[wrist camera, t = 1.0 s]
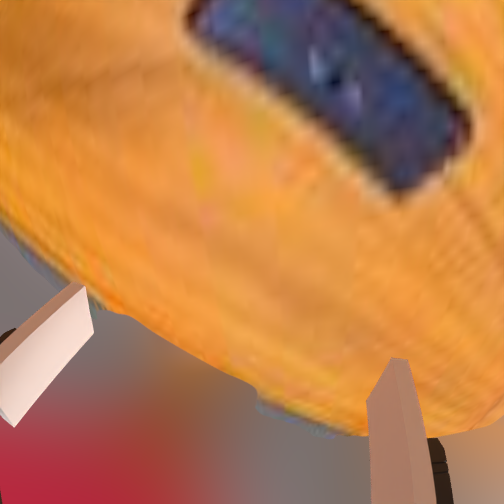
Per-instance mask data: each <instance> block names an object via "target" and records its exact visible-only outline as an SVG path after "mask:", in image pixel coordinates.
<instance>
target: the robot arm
mask: <svg viewBox="0 0 504 504" xmlns="http://www.w3.org/2000/svg"><path fill="white" fill-rule="evenodd" d="M93 334H94V330H93V326H92V321H91V316H90V311H89V305H88V300H87V294H86V288H85V286H84V285H81V284H79V283H76V282H72V283H70V284H69V285H68V286H67V287H66V288H64V289H63V290H62V291H61V292H59V293H58V294H57V295H56V296H55V297H53V298H52V299H51V300H50V301H49V302H48V303H46V304H45V305H44V306H43V307H42V308H41V309H39V310H38V311H37V312H36V313H35V314H33V315H32V316H31V317H30V318H29V319H28V320H27V321H25V322H24V323H23V324H22V325H21V326H20V327H19V328H18V329H16V328H14V329H11V330H9V331H7V332H5V333H4V334H3V335H2V336H1V337H0V415H1V416H2V418H4V419H5V420H6V421H7V422H8V423H10V424H11V425H12V426H13V427H15V426H16V425H17V423H18V422H19V421H20V420H21V418H22V417H23V416H24V415H25V413H26V412H27V411H28V410H29V408H30V407H31V406H32V405H33V403H34V402H35V401H36V400H37V398H38V397H39V396H40V395H41V394H42V392H43V391H44V390H45V389H46V388H47V386H48V385H49V384H50V383H51V382H52V380H53V379H54V378H55V377H56V375H57V374H58V373H59V372H60V371H61V370H62V368H63V367H64V366H65V365H66V364H67V363H68V362H69V361H70V359H71V358H72V357H73V356H74V355H75V354H76V353H77V351H78V350H79V349H80V348H81V347H82V346H83V344H85V342H86V341H87V340H88V339H89V338H90V337H91V336H92V335H93ZM366 403H367V415H368V428H369V443H370V464H371V504H454V503H453V495H452V488H451V482H450V476H449V473H448V466H447V464H446V462H447V460H446V455H445V450H444V448H443V446H442V445H441V443H440V441H439V440H438V438H426V432H425V428H424V423H423V418H422V414H421V409H420V405H419V401H418V397H417V393H416V389H415V385H414V381H413V377H412V373H411V370H410V366H409V362H408V360H406V359H397V358H391V359H390V361H389V363H388V365H387V367H386V368H385V370H384V372H383V374H382V375H381V377H380V379H379V381H378V382H377V384H376V386H375V387H374V389H373V391H372V392H371V394H370V396H369V397H368V399H367V400H366ZM0 504H2V499H1V493H0Z"/></svg>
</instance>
